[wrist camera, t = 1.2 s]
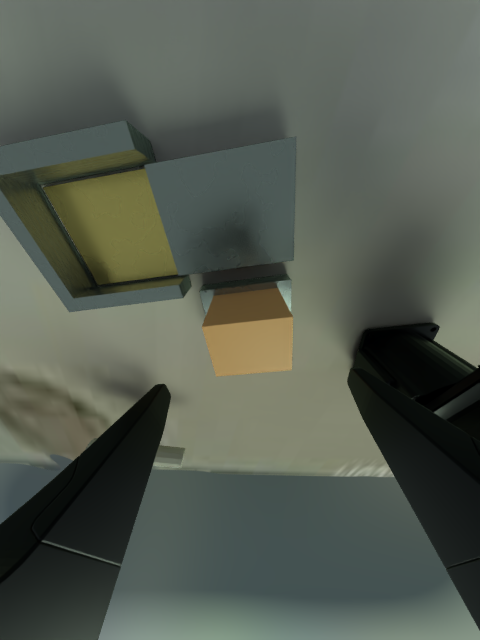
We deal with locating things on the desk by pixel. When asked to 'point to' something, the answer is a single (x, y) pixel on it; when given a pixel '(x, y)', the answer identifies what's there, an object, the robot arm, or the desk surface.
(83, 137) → the sliding lid box
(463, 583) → the robot arm
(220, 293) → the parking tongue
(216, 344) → the block
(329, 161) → the desk surface
